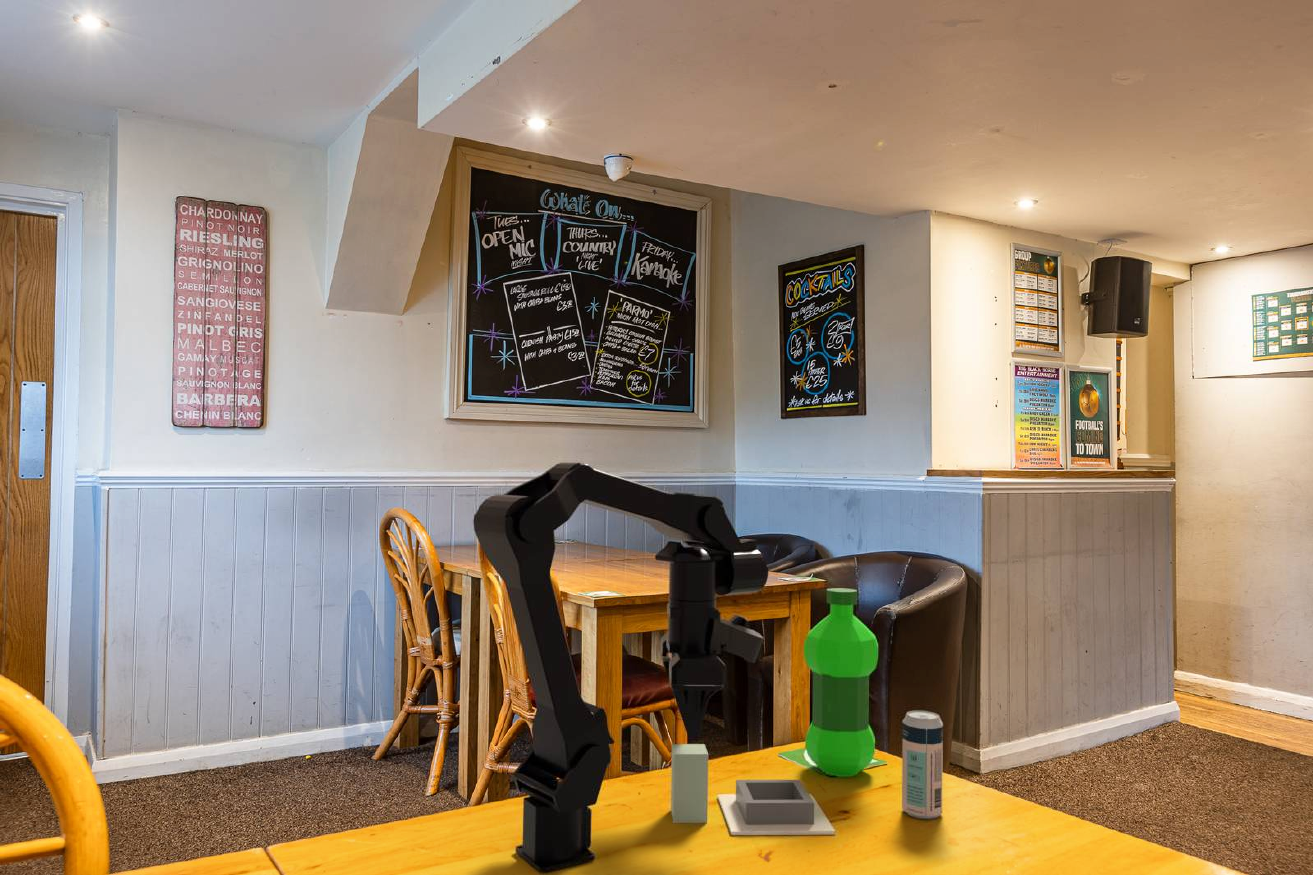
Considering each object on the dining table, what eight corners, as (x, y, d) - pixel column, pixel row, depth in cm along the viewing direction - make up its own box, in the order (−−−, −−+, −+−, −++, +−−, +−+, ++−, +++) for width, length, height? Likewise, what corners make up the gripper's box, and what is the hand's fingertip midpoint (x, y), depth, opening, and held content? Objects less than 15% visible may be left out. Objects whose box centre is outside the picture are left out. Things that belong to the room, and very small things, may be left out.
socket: (835, 834, 107) (835, 808, 107) (731, 835, 106) (731, 809, 106) (811, 797, 119) (811, 774, 119) (717, 797, 118) (718, 774, 118)
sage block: (707, 822, 110) (708, 754, 110) (673, 823, 109) (674, 754, 110) (703, 810, 114) (704, 744, 114) (670, 810, 113) (671, 744, 114)
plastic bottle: (787, 768, 130) (789, 588, 131) (835, 754, 137) (837, 583, 137) (844, 788, 122) (846, 597, 123) (892, 772, 129) (894, 591, 130)
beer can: (938, 807, 116) (938, 710, 116) (946, 822, 111) (946, 720, 111) (898, 805, 116) (899, 708, 117) (905, 820, 111) (906, 719, 112)
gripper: (773, 611, 103) (770, 752, 103) (746, 589, 122) (744, 709, 121) (673, 609, 103) (670, 752, 102) (661, 588, 121) (659, 708, 121)
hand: (689, 728), depth 112 cm, fingers open, 9 cm apart
